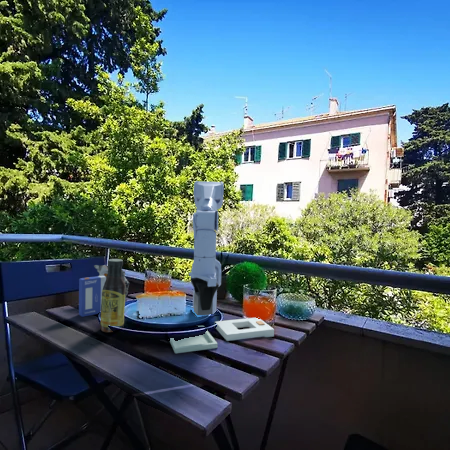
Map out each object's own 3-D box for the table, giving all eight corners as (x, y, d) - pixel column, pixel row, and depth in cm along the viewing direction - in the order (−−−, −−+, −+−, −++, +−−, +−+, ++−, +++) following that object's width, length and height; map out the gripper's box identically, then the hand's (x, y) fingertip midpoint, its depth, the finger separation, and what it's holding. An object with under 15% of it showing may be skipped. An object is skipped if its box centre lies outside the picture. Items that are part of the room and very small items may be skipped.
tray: (166, 334, 86) (166, 329, 86) (203, 330, 90) (203, 325, 90) (175, 354, 74) (175, 348, 74) (217, 349, 78) (217, 343, 78)
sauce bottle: (95, 332, 86) (96, 260, 85) (109, 324, 92) (109, 257, 91) (116, 335, 85) (117, 262, 84) (129, 327, 91) (130, 258, 90)
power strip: (214, 328, 92) (214, 320, 92) (257, 323, 97) (258, 316, 96) (226, 342, 82) (227, 333, 82) (273, 336, 87) (274, 328, 87)
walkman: (82, 317, 98) (82, 278, 97) (78, 314, 100) (79, 277, 99) (106, 311, 103) (107, 275, 103) (103, 309, 105) (103, 274, 105)
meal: (89, 301, 114) (89, 265, 113) (98, 298, 118) (99, 264, 117) (120, 308, 107) (121, 270, 107) (129, 305, 111) (130, 268, 111)
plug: (193, 310, 84) (194, 292, 84) (208, 309, 86) (208, 291, 86) (197, 315, 81) (198, 296, 80) (212, 314, 82) (212, 295, 82)
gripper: (183, 252, 88) (182, 300, 89) (196, 261, 74) (195, 317, 75) (208, 252, 90) (206, 298, 91) (225, 260, 77) (223, 314, 77)
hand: (203, 307), depth 83 cm, fingers closed on plug, 4 cm apart
